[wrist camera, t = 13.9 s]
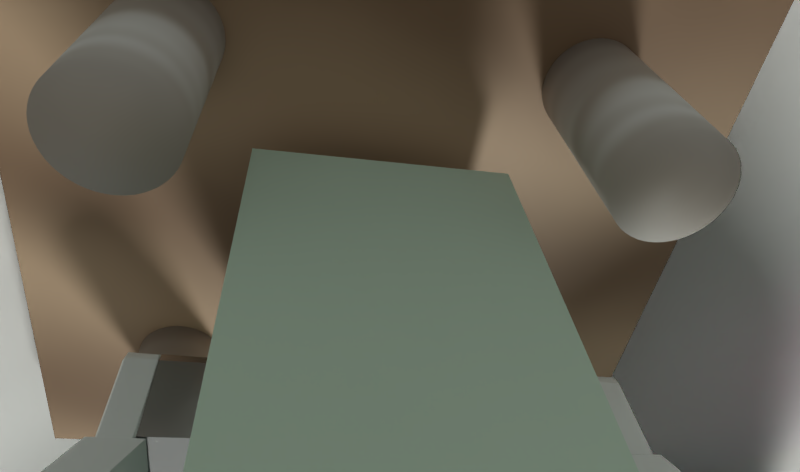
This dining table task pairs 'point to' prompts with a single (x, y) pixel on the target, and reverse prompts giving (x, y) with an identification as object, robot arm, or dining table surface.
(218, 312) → the sage block
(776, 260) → the dining table surface
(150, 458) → the robot arm
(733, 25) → the peg board
